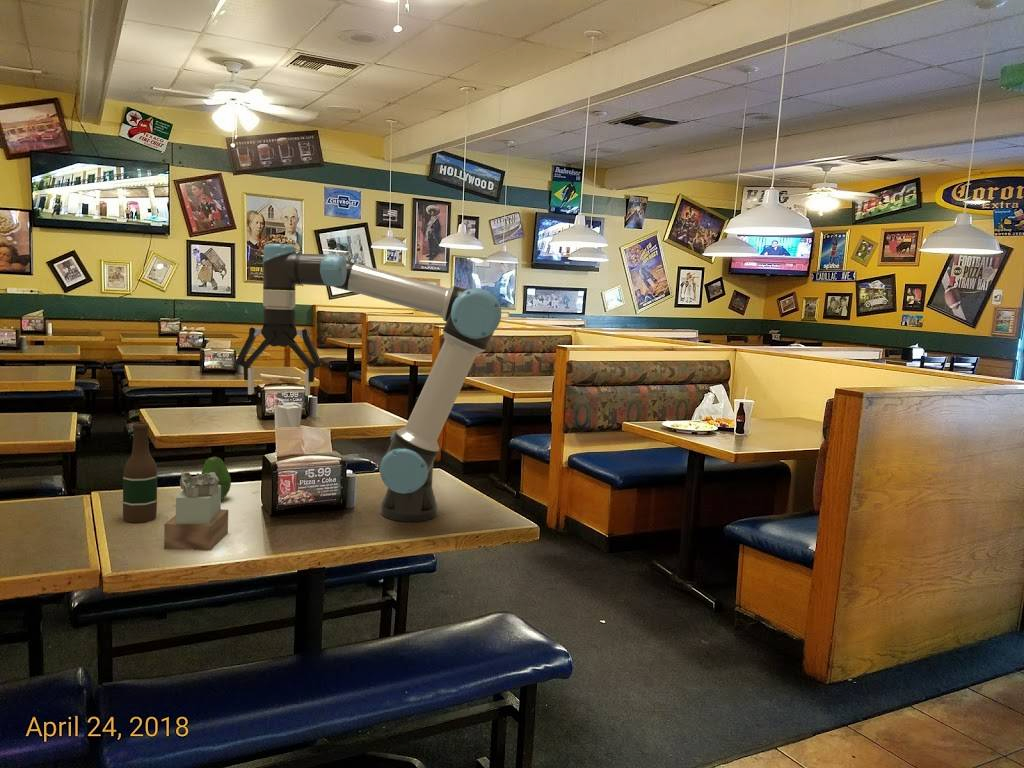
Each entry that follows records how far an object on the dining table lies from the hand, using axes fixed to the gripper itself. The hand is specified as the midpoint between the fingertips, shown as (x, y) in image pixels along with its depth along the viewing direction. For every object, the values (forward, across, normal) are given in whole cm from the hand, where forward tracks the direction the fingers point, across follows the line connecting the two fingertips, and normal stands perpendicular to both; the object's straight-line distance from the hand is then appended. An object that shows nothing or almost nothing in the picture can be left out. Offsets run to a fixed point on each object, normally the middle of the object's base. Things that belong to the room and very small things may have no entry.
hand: (279, 394), depth 178 cm
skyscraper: (+33, +3, -24) cm, 41 cm away
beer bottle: (+32, +33, +1) cm, 46 cm away
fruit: (+32, +21, -17) cm, 42 cm away
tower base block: (+33, +15, +15) cm, 39 cm away
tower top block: (+27, +15, +15) cm, 34 cm away
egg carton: (+21, +15, +14) cm, 29 cm away
